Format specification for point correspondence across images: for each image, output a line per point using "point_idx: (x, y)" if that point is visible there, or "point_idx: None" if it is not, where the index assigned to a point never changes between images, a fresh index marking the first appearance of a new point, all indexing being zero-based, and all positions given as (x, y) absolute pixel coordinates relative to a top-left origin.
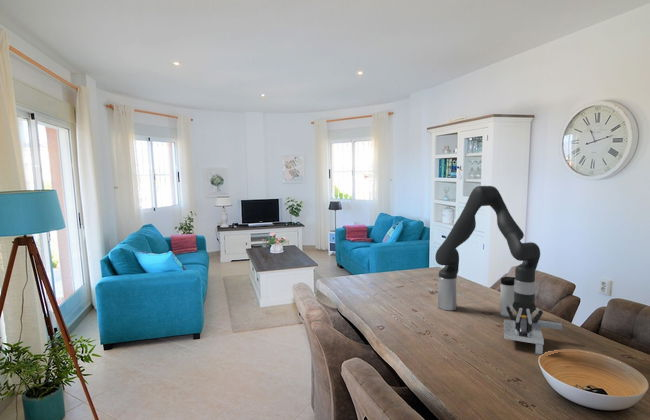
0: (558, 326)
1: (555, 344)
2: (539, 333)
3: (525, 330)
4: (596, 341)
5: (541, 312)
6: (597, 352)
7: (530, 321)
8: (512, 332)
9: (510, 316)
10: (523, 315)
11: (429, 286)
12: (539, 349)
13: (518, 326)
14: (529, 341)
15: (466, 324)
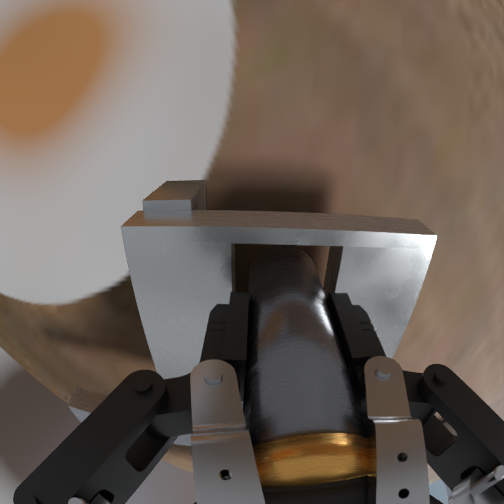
0: (84, 403)
1: (119, 325)
2: (160, 334)
3: (273, 294)
4: (37, 364)
5: (25, 502)
6: (11, 297)
7: (210, 394)
8: (369, 289)
9: (469, 396)
10: (333, 471)
11: (431, 468)
12: (175, 190)
13: (350, 322)
14: (238, 214)
15: (459, 364)
